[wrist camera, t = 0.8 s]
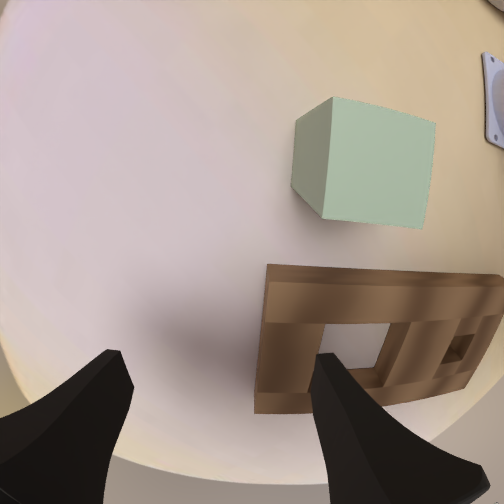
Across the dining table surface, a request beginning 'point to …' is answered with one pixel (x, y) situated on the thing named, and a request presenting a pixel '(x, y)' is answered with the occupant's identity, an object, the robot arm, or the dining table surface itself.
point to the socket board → (374, 311)
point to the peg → (364, 163)
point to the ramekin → (498, 4)
